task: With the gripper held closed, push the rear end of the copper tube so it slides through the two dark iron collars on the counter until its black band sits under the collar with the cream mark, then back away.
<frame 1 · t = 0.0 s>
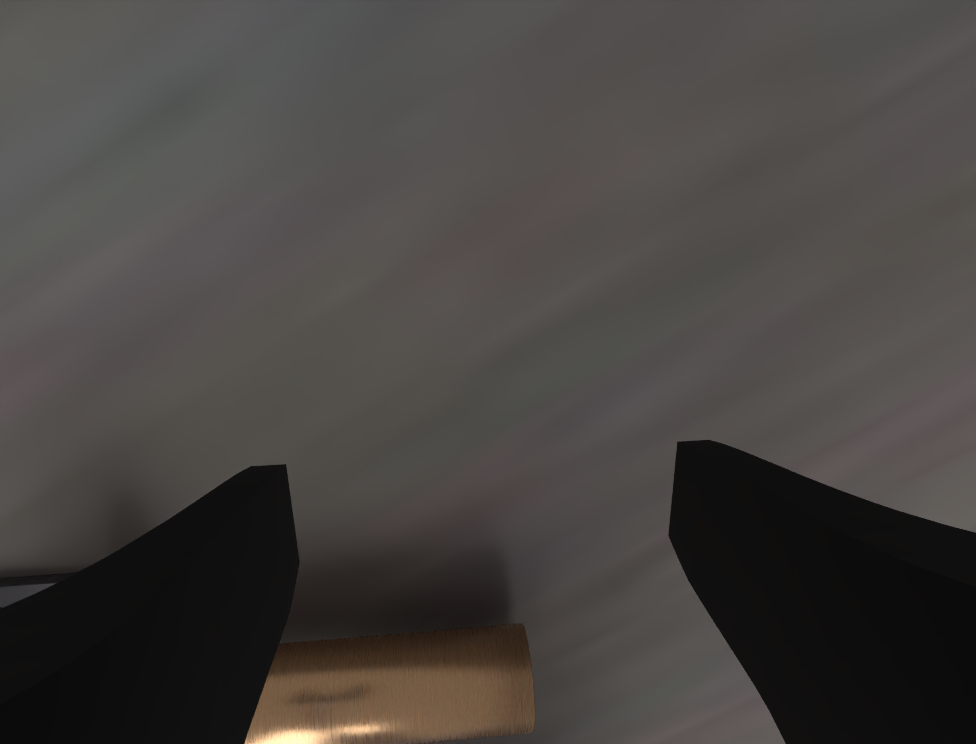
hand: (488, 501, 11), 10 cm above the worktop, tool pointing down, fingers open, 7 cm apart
firebox: (51, 664, 23), on the worktop
tube: (276, 698, 21), point 3 cm above the worktop, slide at 0.0 cm
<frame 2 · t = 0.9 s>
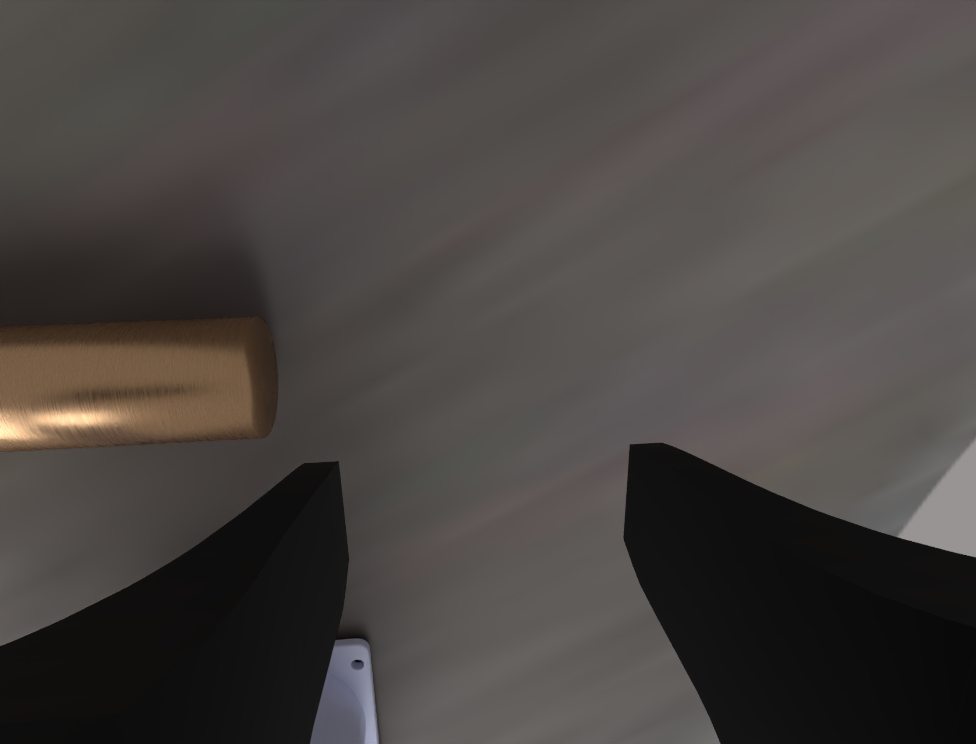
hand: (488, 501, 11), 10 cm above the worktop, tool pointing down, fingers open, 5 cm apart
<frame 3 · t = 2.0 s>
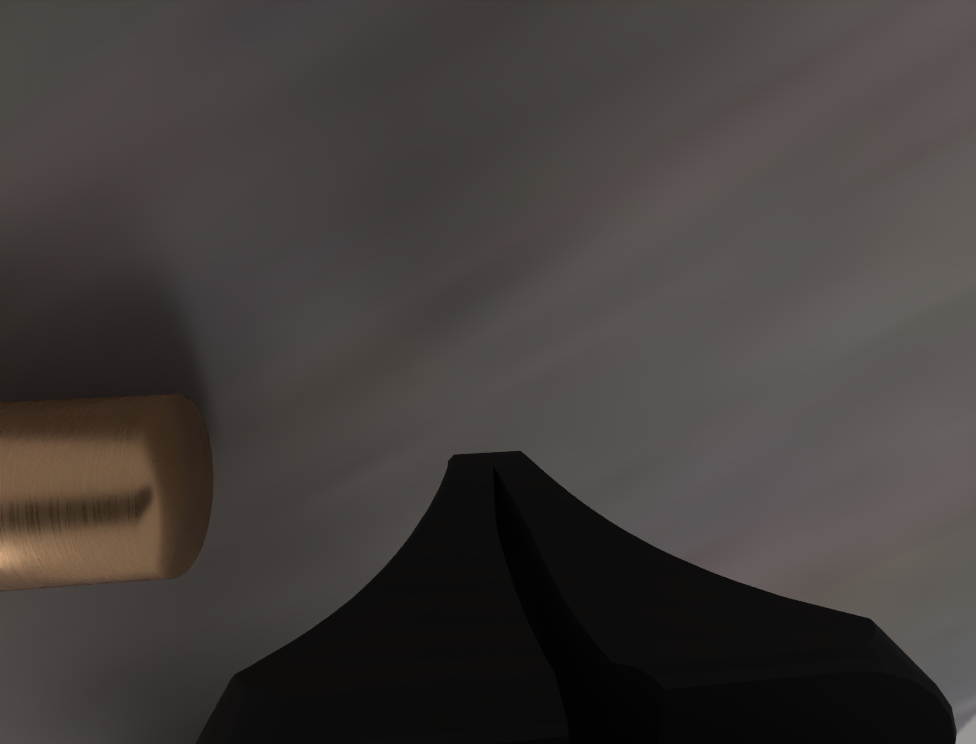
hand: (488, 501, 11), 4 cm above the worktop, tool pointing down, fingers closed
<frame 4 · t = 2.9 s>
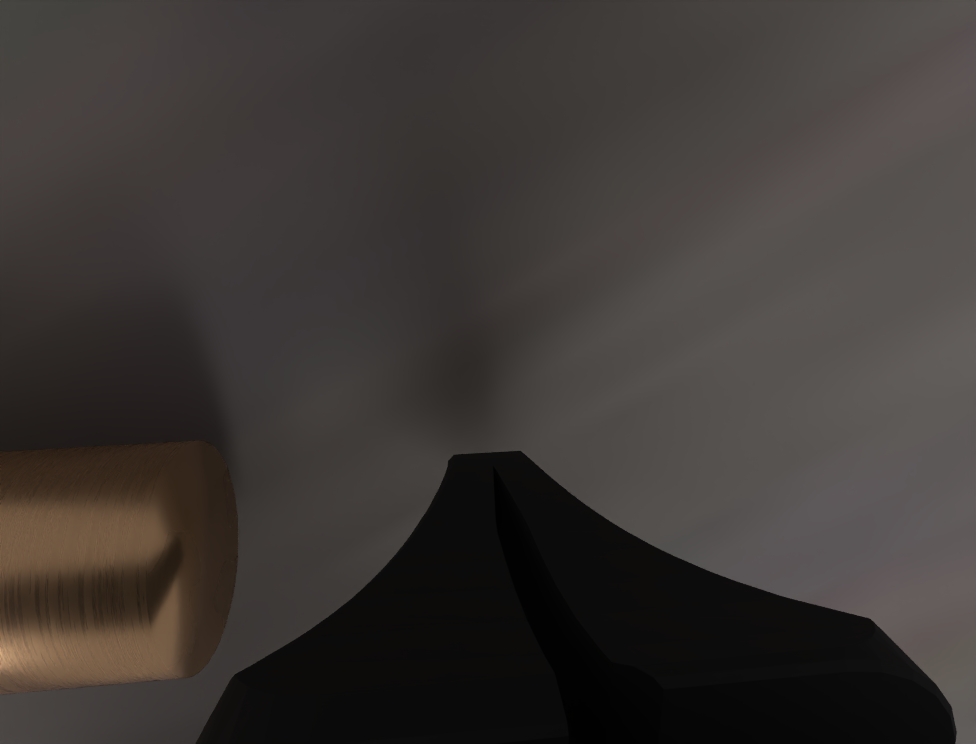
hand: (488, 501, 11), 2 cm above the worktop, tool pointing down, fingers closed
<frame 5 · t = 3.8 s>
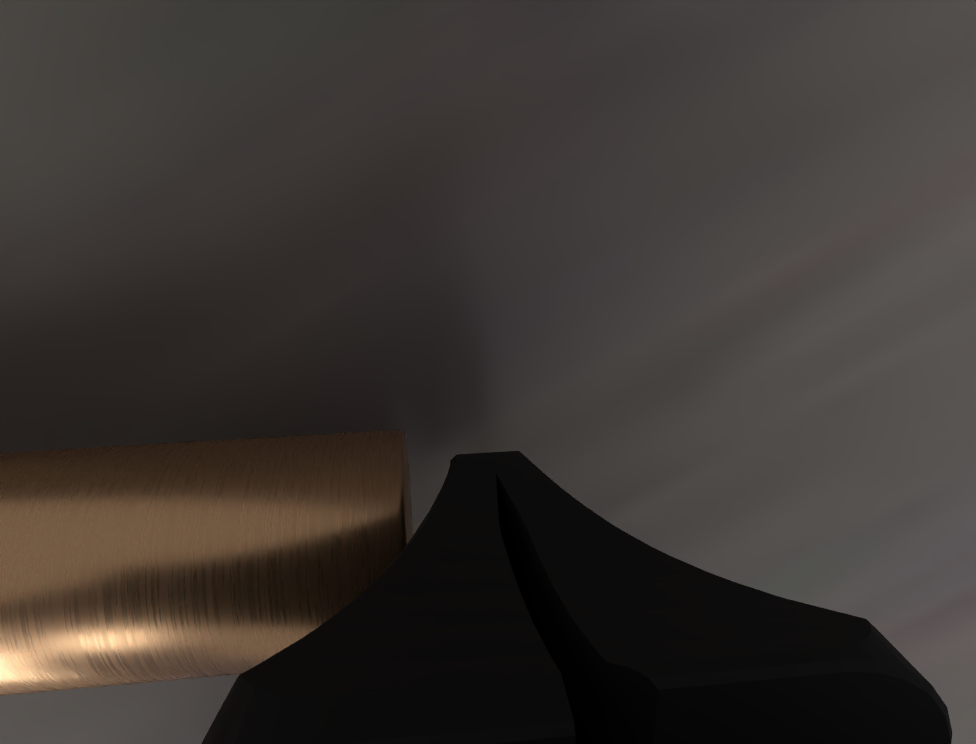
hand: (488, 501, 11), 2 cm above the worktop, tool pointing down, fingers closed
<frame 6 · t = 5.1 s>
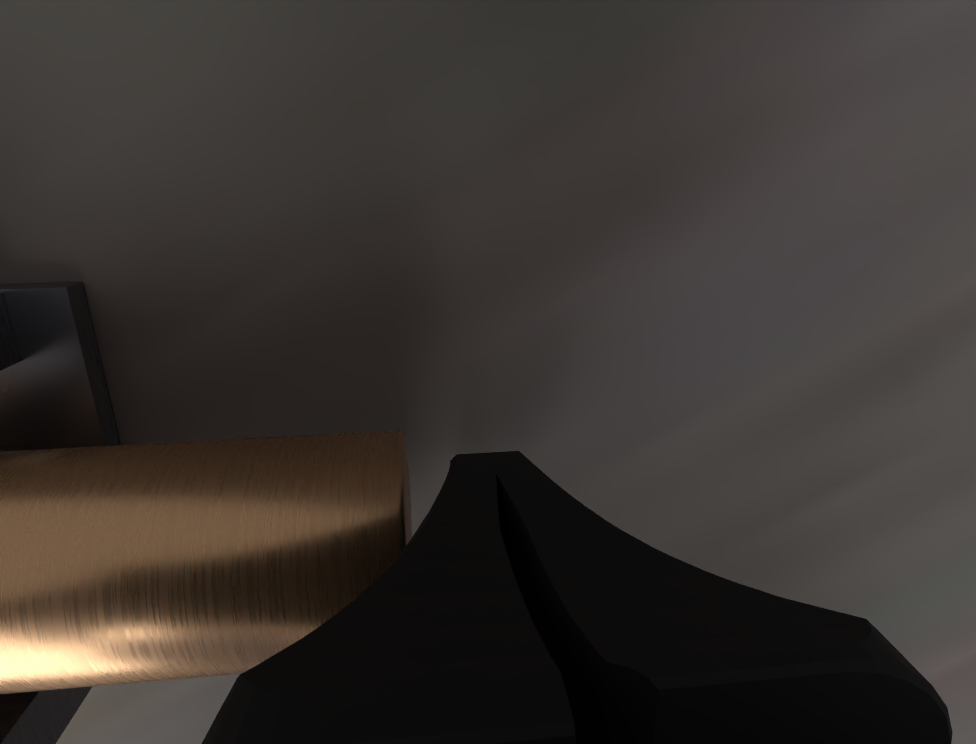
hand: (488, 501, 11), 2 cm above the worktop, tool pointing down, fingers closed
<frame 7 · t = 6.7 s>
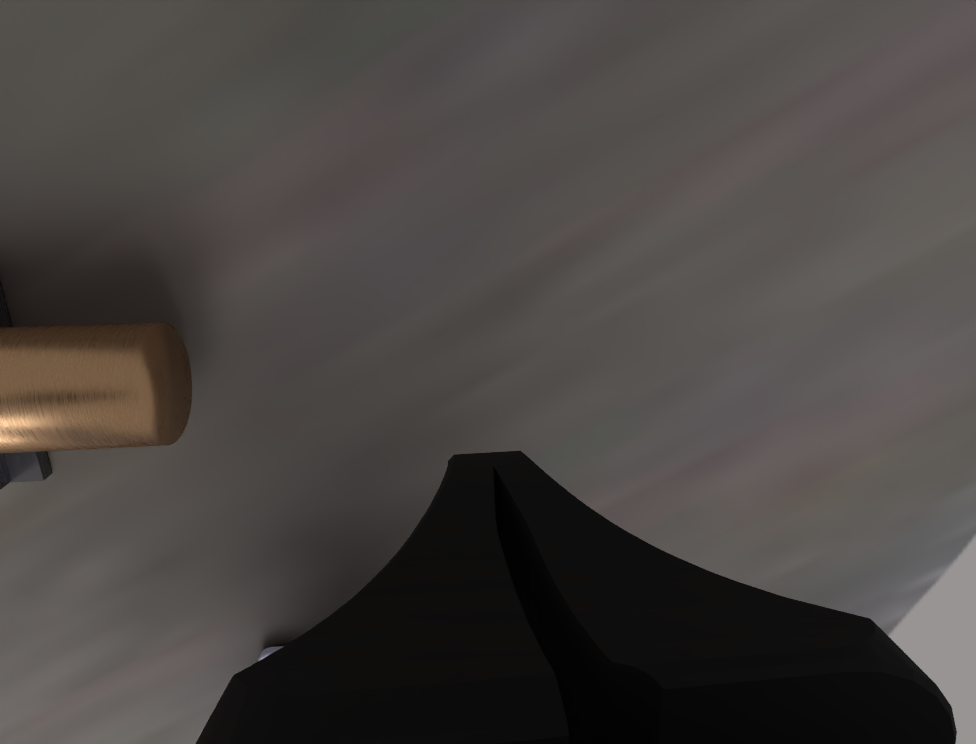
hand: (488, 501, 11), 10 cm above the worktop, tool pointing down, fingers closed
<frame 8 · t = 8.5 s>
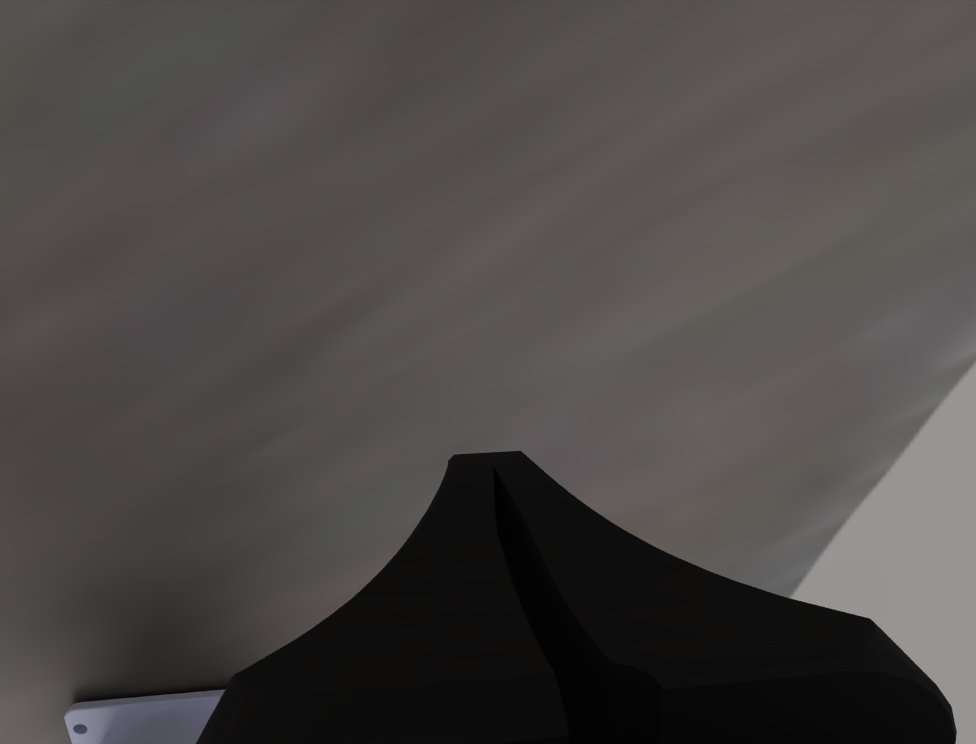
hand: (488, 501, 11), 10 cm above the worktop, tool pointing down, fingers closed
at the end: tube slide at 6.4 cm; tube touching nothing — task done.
